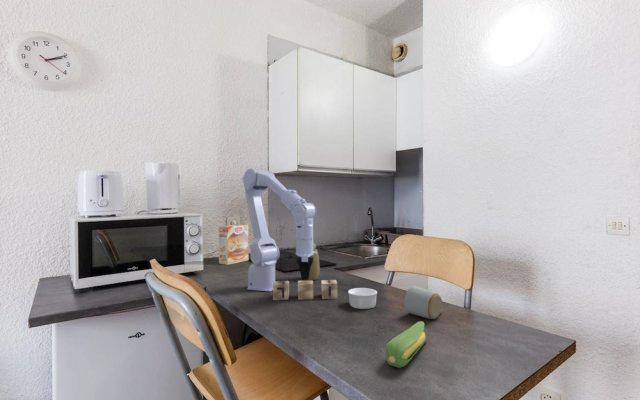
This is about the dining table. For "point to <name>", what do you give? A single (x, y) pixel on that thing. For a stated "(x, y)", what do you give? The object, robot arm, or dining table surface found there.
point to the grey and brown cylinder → (423, 302)
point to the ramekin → (362, 298)
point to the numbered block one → (329, 289)
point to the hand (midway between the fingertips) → (305, 279)
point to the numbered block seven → (281, 290)
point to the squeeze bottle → (314, 265)
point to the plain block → (305, 290)
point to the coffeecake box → (233, 244)
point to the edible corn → (405, 345)
